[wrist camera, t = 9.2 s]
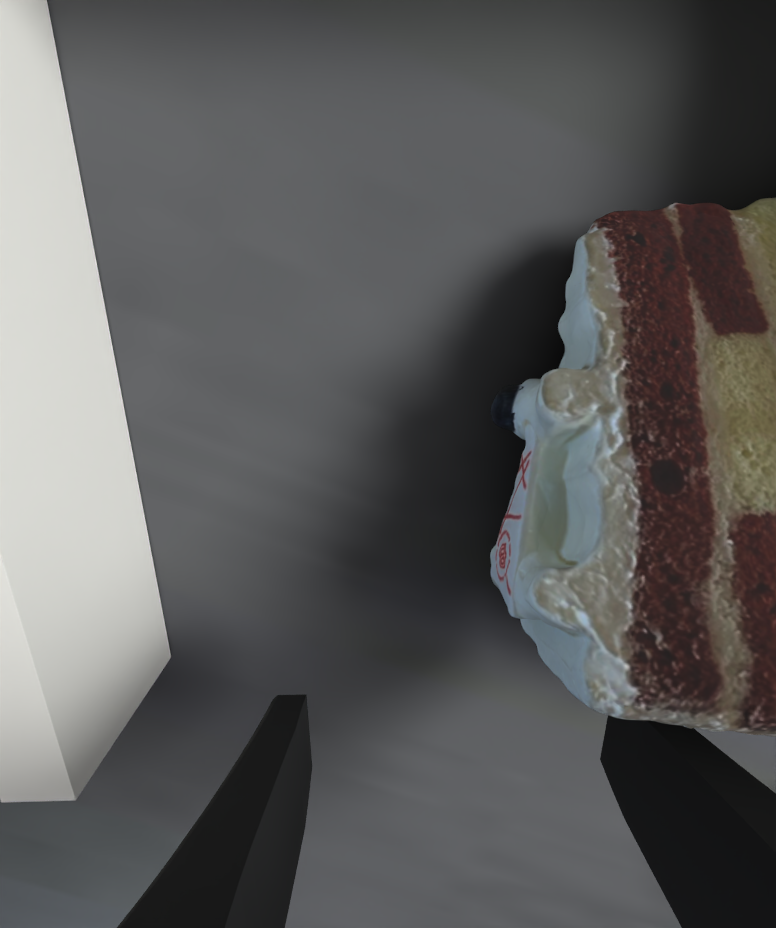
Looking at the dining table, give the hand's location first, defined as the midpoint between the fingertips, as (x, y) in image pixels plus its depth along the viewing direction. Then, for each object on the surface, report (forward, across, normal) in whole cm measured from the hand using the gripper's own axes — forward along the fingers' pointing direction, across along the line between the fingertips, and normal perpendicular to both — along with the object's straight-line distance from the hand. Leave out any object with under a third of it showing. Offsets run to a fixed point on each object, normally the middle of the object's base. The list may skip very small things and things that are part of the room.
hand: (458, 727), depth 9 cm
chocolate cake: (+3, -4, -6) cm, 8 cm away
